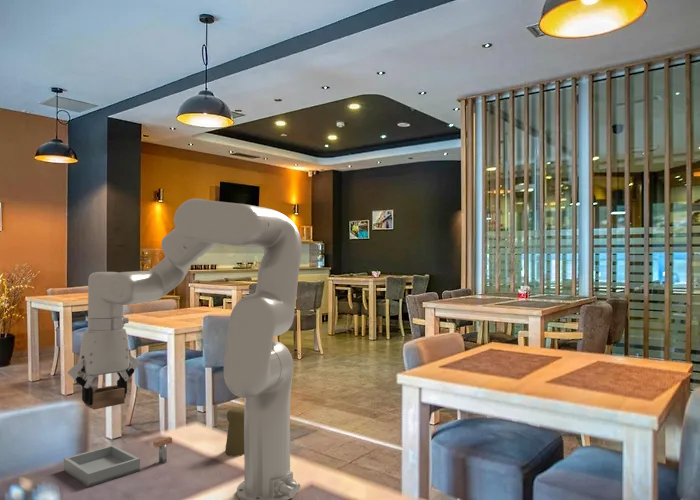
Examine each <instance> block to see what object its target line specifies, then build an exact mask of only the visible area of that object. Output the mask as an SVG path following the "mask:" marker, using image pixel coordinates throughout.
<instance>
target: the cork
mask: <svg viewBox="0 0 700 500" xmlns="http://www.w3.org/2000/svg"><path fill="white" fill-rule="evenodd" d="M244 411H245V407H241V406H237V407H236V406H235V407H232V408H229V409H228V410H227V411H226V419H227V421H228V427H227V434H226V441H225V442H226V444H225V451H224V453H225V455H226V456H230V455H232V456H231V457H238V456H237V455H240V456H243V455H242V454H244Z"/></svg>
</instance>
